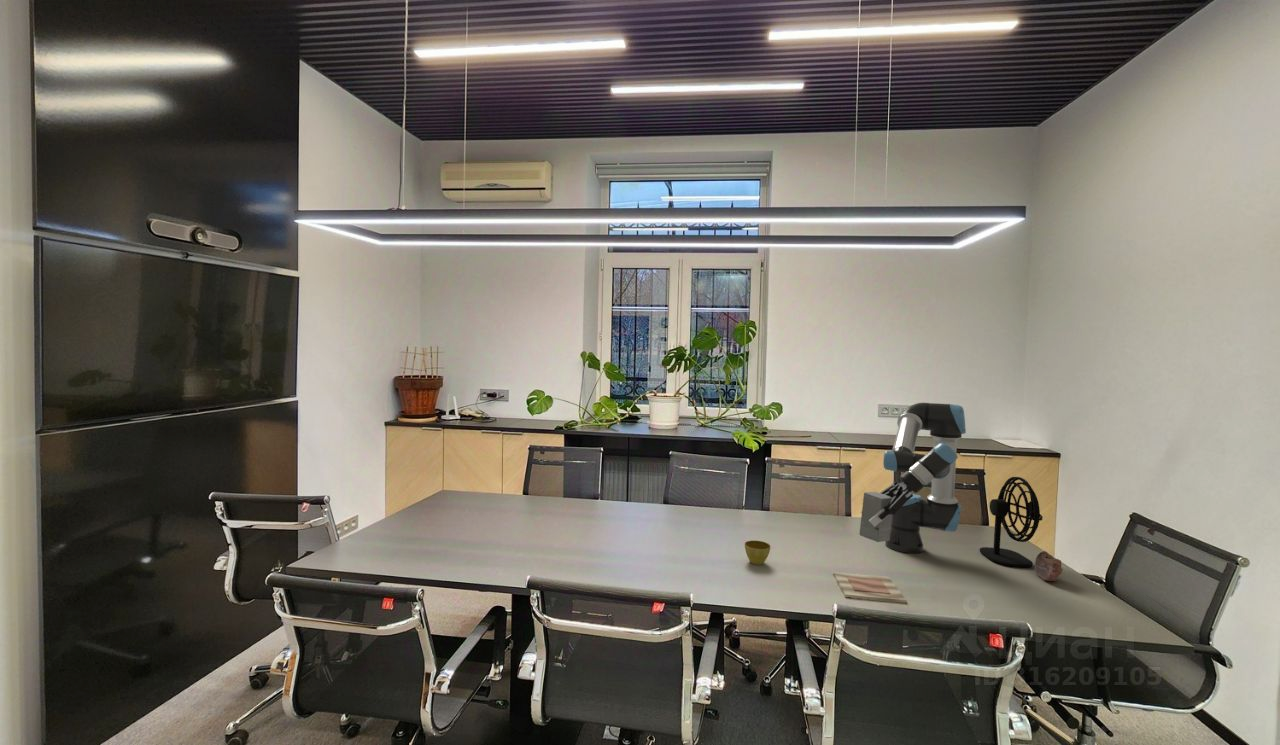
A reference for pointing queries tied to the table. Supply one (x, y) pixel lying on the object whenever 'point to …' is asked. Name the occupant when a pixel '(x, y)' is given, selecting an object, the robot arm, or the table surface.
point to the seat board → (869, 587)
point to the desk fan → (1012, 523)
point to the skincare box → (870, 508)
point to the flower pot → (757, 551)
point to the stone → (1047, 566)
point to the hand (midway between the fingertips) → (867, 519)
